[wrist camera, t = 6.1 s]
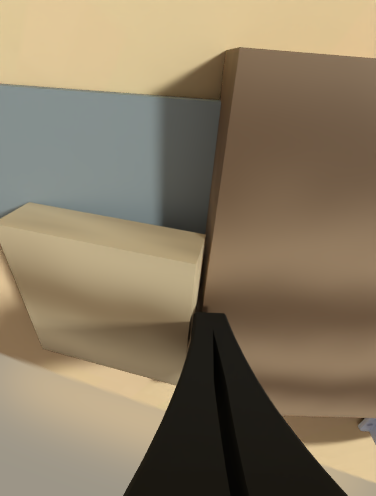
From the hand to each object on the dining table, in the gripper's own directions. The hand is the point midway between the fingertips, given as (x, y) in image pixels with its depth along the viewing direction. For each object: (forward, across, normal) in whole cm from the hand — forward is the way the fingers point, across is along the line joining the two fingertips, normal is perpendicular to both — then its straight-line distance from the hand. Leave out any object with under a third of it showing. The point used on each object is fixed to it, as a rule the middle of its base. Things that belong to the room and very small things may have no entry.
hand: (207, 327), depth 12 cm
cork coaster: (+2, +4, 0) cm, 5 cm away
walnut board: (+4, -7, 0) cm, 8 cm away
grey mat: (+4, +5, -1) cm, 6 cm away
